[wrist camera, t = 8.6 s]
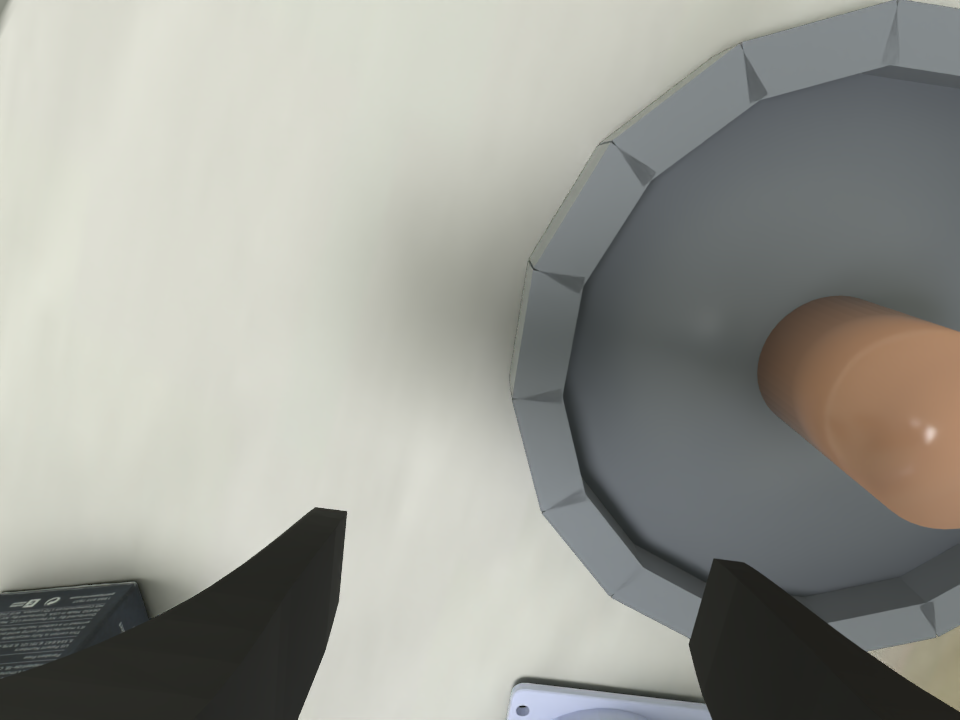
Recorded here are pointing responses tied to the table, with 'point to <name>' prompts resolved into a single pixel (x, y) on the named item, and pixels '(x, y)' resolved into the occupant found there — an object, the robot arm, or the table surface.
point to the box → (63, 621)
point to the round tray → (745, 321)
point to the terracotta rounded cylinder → (873, 400)
